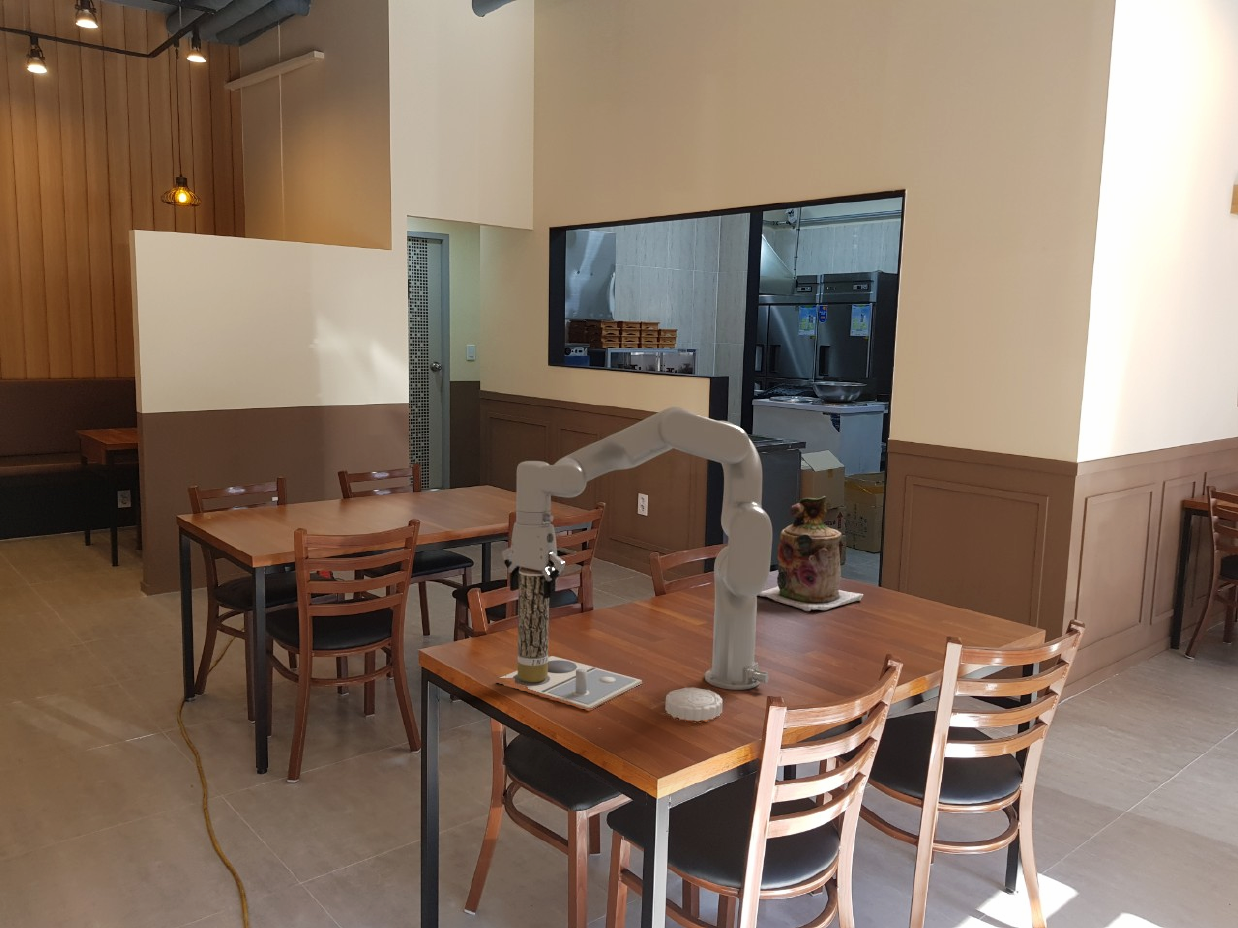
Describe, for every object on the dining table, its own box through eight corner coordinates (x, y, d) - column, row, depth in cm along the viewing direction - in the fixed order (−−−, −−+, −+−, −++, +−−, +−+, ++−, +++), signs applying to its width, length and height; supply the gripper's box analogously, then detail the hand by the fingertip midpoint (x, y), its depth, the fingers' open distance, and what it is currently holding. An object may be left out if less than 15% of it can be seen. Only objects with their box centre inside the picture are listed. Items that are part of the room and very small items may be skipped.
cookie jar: (802, 583, 309) (807, 485, 304) (866, 601, 290) (872, 497, 286) (749, 595, 293) (754, 492, 289) (813, 615, 274) (819, 505, 270)
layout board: (642, 684, 217) (642, 658, 216) (589, 711, 201) (590, 683, 200) (552, 659, 232) (552, 635, 231) (496, 683, 215) (496, 657, 214)
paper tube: (511, 680, 214) (512, 570, 211) (528, 671, 220) (529, 564, 217) (537, 685, 211) (538, 575, 208) (553, 676, 217) (555, 568, 214)
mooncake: (654, 714, 201) (655, 698, 200) (682, 696, 211) (683, 681, 210) (705, 728, 194) (706, 711, 194) (731, 709, 204) (732, 693, 204)
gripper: (575, 520, 209) (573, 596, 211) (514, 510, 219) (513, 583, 221) (553, 525, 203) (552, 604, 205) (492, 515, 213) (491, 590, 215)
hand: (532, 593), depth 213 cm, fingers open, 9 cm apart
